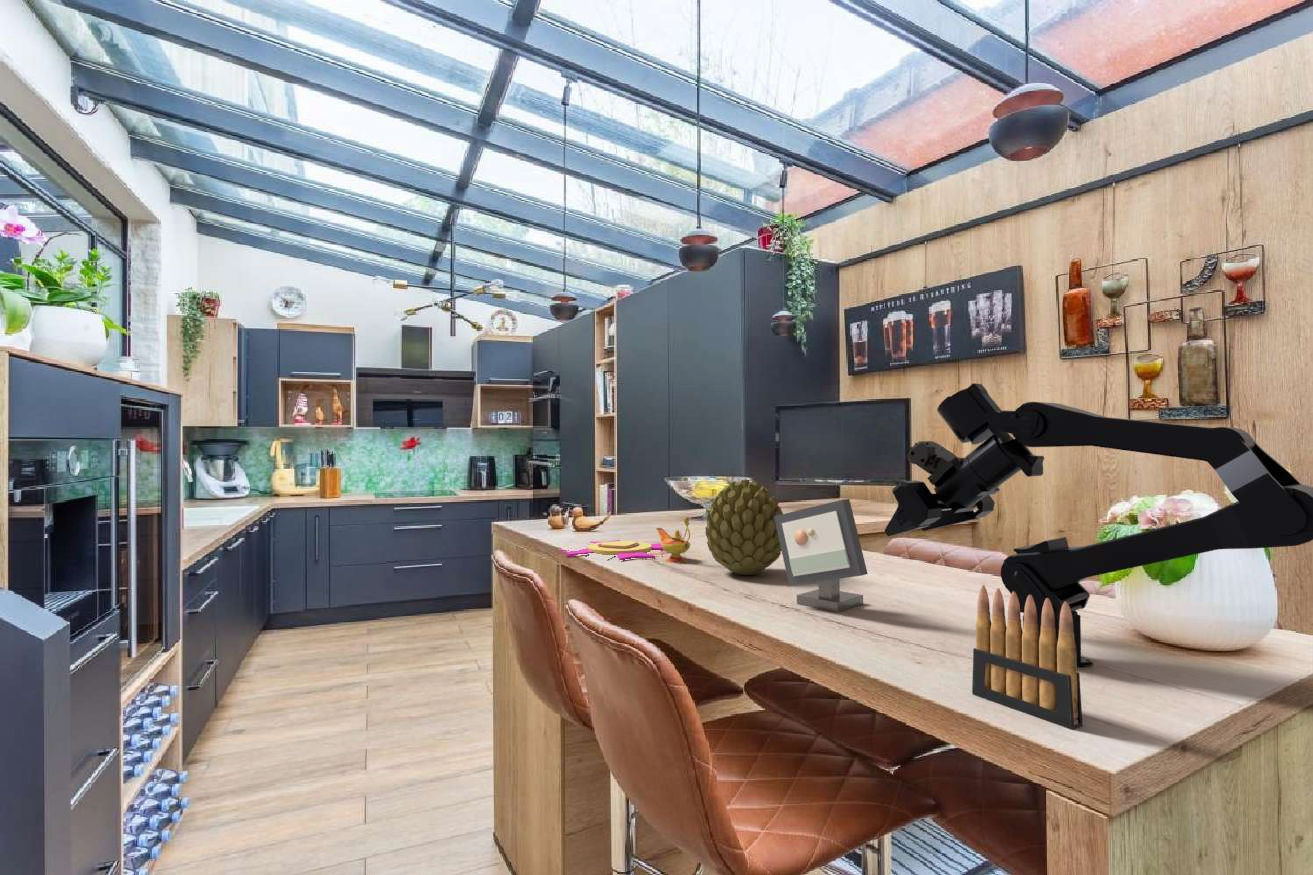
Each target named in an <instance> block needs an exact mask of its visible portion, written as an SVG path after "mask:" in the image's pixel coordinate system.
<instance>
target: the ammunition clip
mask: <svg viewBox="0 0 1313 875" xmlns="http://www.w3.org/2000/svg"><path fill="white" fill-rule="evenodd" d="M994 592H995V593H994V595H993V599H992V600H993V601H992V610H991V609H990V608H991V607H990V606H991V605H990V598H989V594H988V590H987V588H986V586H985V584H984V585H982V586H981V587H980V589H979V593H978V597H977V612H976V613H977V615H976V622H975V648H973V649H972V656H973V657H972V663H973V664H972V680H971V681H972V682H971V683H972V684H971V685H972V688H971V689H972V690H971V693H972V695H973V696H976V697H978V698H980V699H983V700H987V701H989V702H993V703H996V704H999V705H1001V706H1003V707H1006V708H1009V709H1012V710H1015V711H1017V712H1021V713H1023V714H1025V715H1029V716H1032V717H1034V718H1037V719H1040V720H1043V721H1046V722H1048V723H1051V724H1054V725H1057V726H1059V727H1062V728H1066V729H1068V730H1075V729H1077V728H1080V727H1082V726H1084V725H1083V711H1082V710H1083V709H1082V698H1081V697H1082V695H1081V680H1080V679H1081V678H1080V677H1081V676H1080V675H1081V674H1080V672H1077V671H1078V670H1077V669H1078V666H1077V658H1076V645H1075V640H1074V631H1073V619H1072V613H1071V610H1070V607H1069V604H1068V603H1067V602H1064V604H1063V606H1062V609H1061V613H1060V620H1059V638H1058V643H1057V638H1056V632H1055V619H1054V612H1053V607H1052V604H1051V602H1050V600H1049V598H1046V600H1045V602H1044V605H1043V609H1042V616H1041V634H1040V637H1039V633H1038V623H1037V612H1036V606H1035V602H1034V599H1033V597H1032V595H1029V596H1028V597H1027V600H1026V604H1025V610H1024V613H1023V615H1024V626H1023V625H1022V618H1021V612H1020V605H1019V601H1018V597H1017V595H1016V593H1015V592H1014V591H1013V592H1012V594H1010V597H1009V600H1008V606H1007V620H1006V610H1005V601H1004V597H1003V593H1002V591H1001V589H1000V587H998V588H996V590H995V591H994ZM990 610H991V611H992V614H991V611H990ZM1006 621H1007V622H1006Z"/></svg>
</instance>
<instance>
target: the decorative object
mask: <svg viewBox="0 0 1313 875" xmlns="http://www.w3.org/2000/svg"><path fill="white" fill-rule="evenodd" d="M781 514H784V512H783V510H782V508H781V506H780V505H779V502H778V500H777V499H776V497H775V496H774V495H773V496H772V494H771V492H770V491H769V489H768V488H766V487H765V486H764V485H762V486H761V483H759V482H757V481H755V480H753V481H750V480H749V479H740V481H737V482H736V481H732V482H730V483H729V484H728V485H727V486H726V487H724V488H723V489H721V490H720V491H719V493H718V494H717V495H715V498H714V499H713V501H712V502H711V505H710V510H709V509H708V512H707V516H706V526H705V536H706V539H707V541H706V544H707V546H708V550H709V552H710V553H711V555H712V558H713V559H714V560H715V561H716V563H718V564H720V565H721V566H723V567H724V568H726V569H727V570H728V571H729V572H732V573H734V574H737V575H740V576H753V575H756V574H759V573H761V572H763V570H766V568H768V567H770V566H772V564H774V562H776V561H777V560H778V559H779V558H780V556H781V554H782V551H781V546H780V542H779V537H778V533H777V528H776V523H775V519H774V516H777V515H781Z"/></svg>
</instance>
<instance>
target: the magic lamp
mask: <svg viewBox="0 0 1313 875" xmlns="http://www.w3.org/2000/svg"><path fill="white" fill-rule="evenodd" d="M689 521H690V518H689V516H687V517H685V518H684V519H683V522H684V525H685V527H686V528H685V533H684V536H683V535H682V533H681V531H679V529H676V530H675V532H674V534H673V535H672V536H671V535H669V533H668V532H667V531H666V530H665V529H663V528H662V527H656V528H655V530H656V531H657V533H658V537H659V540H660V543H661V546H662V548H663V549H664V550H665V551H666V552H668V553H667V554H670V557H668V558H666V559H665V562H666V563H671V562H680V563H685V562H687V559H685V558H683V557H682V555H681V554H686V552H687V551H688V550H689V549H690V547H691V543H690V542H689V540H690V539H691V532H690V529H689V525H690V522H689ZM687 533H688V537H687V538H686V535H687ZM682 536H683V538H682ZM685 539H686V540H685Z"/></svg>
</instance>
